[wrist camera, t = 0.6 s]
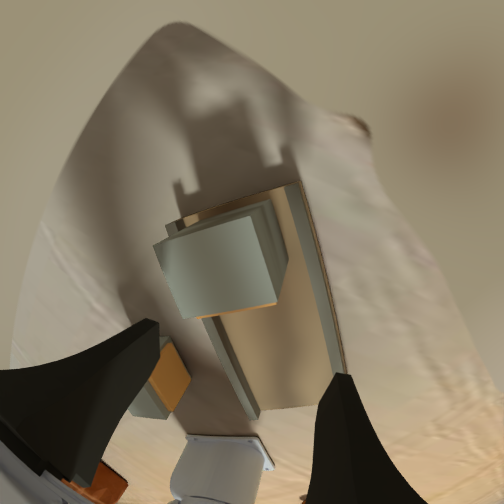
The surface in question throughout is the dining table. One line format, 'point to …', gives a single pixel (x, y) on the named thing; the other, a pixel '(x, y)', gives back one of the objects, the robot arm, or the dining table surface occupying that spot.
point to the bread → (101, 486)
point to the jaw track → (282, 327)
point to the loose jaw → (162, 385)
